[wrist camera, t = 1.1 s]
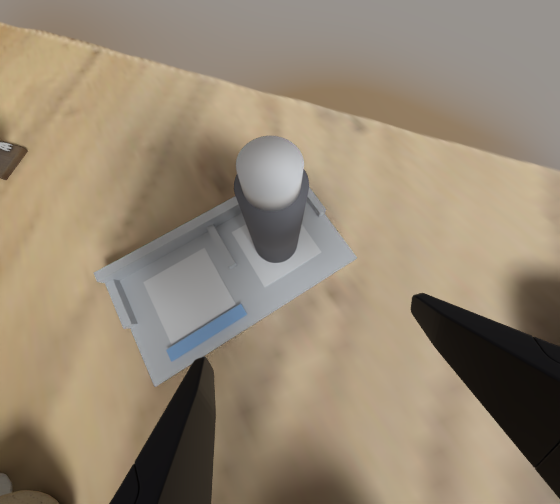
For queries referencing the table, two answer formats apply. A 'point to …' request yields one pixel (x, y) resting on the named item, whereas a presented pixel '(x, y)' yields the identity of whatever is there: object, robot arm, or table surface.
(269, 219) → the grey upright cylinder
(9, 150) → the figurine
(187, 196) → the table surface
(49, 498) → the ceramic mug
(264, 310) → the white tray
